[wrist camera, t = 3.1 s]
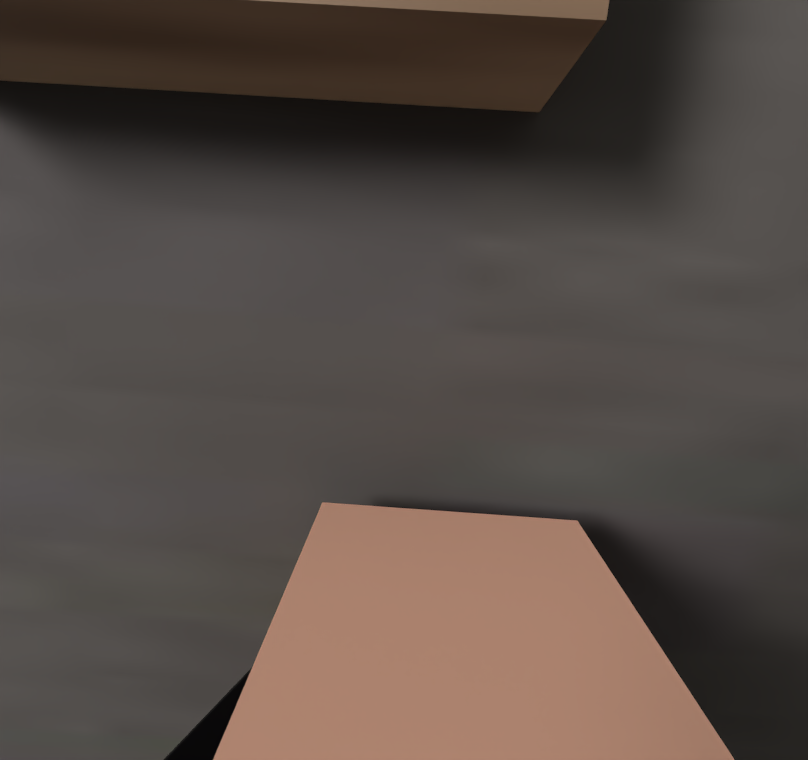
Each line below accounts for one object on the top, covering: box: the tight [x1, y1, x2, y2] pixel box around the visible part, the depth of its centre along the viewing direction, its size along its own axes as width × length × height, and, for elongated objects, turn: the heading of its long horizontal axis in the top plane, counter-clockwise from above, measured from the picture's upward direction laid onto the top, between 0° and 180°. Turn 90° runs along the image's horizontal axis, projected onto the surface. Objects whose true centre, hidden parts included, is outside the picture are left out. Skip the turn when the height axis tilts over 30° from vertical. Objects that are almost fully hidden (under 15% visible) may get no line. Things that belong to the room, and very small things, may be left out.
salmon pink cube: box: [213, 502, 734, 760], centre depth 6 cm, size 4×4×4 cm
